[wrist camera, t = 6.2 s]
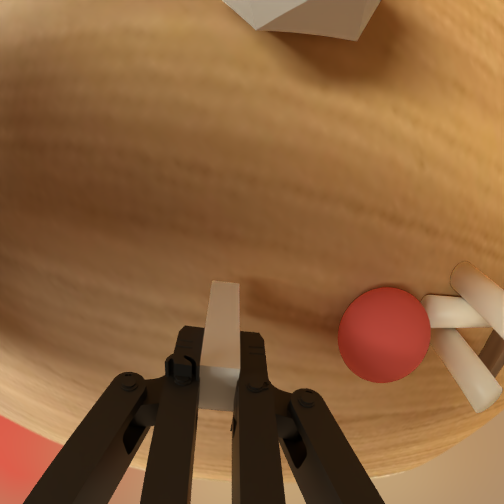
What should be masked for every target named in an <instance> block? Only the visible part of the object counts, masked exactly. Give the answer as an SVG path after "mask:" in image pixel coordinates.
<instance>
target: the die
mask: <svg viewBox="0 0 504 504" xmlns="http://www.w3.org/2000/svg"><path fill="white" fill-rule="evenodd" d="M222 1H223V2H224V3H226V4H227V5H228V6H229V7H230V8H232V9H233V10H234V11H235V12H236V13H237V14H238V15H240V16H241V17H242V18H243V19H244V20H245V21H246V22H247V23H248V24H250V25H251V26H252V27H253V28H254V29H255V30H261V31H280V32H293V33H303V34H312V35H320V36H328V37H334V38H341V39H346V40H352V41H357V40H358V39H359V37H360V35H361V33H362V32H363V30H364V28H365V27H366V25H367V23H368V22H369V20H370V18H371V16H372V15H373V13H374V11H375V10H376V8H377V6H378V5H379V3H380V1H381V0H222Z"/></svg>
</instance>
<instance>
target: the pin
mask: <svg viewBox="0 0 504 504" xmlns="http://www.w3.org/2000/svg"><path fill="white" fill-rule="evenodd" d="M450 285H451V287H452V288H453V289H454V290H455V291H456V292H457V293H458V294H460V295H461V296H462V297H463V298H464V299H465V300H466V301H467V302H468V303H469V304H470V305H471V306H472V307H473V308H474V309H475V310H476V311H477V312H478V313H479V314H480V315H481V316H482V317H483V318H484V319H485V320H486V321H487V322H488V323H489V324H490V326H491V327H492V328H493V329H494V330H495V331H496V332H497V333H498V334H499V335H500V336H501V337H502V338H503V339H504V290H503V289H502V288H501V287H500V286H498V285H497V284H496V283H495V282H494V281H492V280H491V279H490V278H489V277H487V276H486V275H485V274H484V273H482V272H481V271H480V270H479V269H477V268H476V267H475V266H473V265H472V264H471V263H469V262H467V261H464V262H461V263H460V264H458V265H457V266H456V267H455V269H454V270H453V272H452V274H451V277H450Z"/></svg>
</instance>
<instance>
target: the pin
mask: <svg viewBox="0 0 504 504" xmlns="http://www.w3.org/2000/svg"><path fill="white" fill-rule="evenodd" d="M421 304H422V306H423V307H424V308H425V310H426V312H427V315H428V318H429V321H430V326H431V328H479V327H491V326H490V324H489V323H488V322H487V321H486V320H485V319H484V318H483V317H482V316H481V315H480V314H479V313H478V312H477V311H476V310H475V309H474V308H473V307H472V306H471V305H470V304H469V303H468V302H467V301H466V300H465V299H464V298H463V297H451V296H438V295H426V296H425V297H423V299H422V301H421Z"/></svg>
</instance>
